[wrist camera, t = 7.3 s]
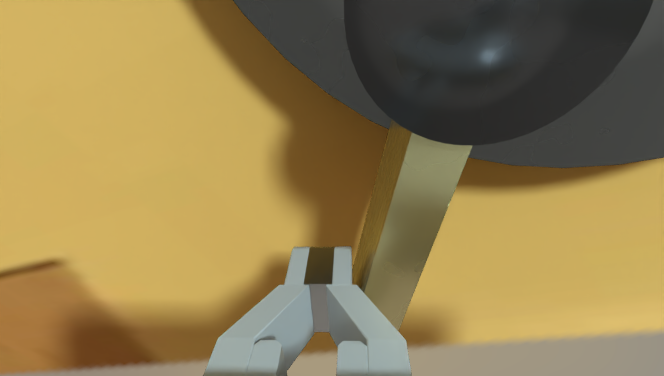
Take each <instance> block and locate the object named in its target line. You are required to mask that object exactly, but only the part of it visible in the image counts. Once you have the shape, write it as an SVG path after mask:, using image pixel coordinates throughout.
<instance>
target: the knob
mask: <svg viewBox="0 0 664 376" xmlns="http://www.w3.org/2000/svg"><path fill="white" fill-rule="evenodd" d="M652 3H653V0H344V25H345V32H346V40H347V45H348V48H349V52H350V56H351V60H352V62H353V65H354V67H355V70H356V72H357V75H358V77H359V79H360V81H361V83H362V84H363V86H364V88H365V90H366V91H367V93H368V94H369V95H370V97H371V98H372V99H373V101H374V102H375V103H376V105H377V106H378V107H379V108H380V109H381V110H382V111H383V112H384V113H385V114H386V115H387V116H388V117H390V118H391V119H392V120H391V123H390V127H389V131H388V135H387V139H386V142H385V146H384V150H383V154H382V158H381V162H380V165H379V169H378V173H377V177H376V181H375V184H374V188H373V192H372V196H371V200H370V204H369V207H368V211H367V215H366V219H365V223H364V226H363V230H362V234H361V238H360V242H359V245H358V249H357V253H356V257H355V261H354V265H353V268H352V283H353V285H357V286H358V287H359V288H360V289H361V290H362V291H363V292H364V293H365V295H366V296H367V297H368V298H369V299H370V300H371V301H372V302H373V304H374V305H375V306H376V307H377V308H378V309H379V310H380V312H381V313H382V314H383V315H384V316H385V317H386V318H387V319H388V321H389V322H390V323H391V324H392V325H393V326H394V327H395V328H396V330H397V331H399V328H400V326H401V323H402V321H403V318H404V316H405V313H406V311H407V308H408V306H409V303H410V301H411V298H412V296H413V293H414V291H415V288H416V286H417V283H418V281H419V278H420V276H421V273H422V271H423V268H424V266H425V263H426V261H427V258H428V256H429V253H430V251H431V248H432V246H433V243H434V241H435V238H436V236H437V233H438V231H439V228H440V226H441V223H442V221H443V218H444V216H445V213H446V211H447V208H448V206H449V203H450V201H451V198H452V196H453V193H454V191H455V188H456V186H457V183H458V181H459V178H460V176H461V173H462V171H463V168H464V166H465V163H466V161H467V158H468V156H469V153H470V151H471V148H472V146H473V145H485V144H494V143H498V142H503V141H507V140H511V139H514V138H517V137H520V136H523V135H526V134H529V133H531V132H533V131H535V130H538V129H540V128H542V127H544V126H546V125H548V124H550V123H551V122H553V121H555V120H556V119H558V118H560V117H561V116H563V115H565V114H566V113H567V112H569V111H570V110H571V109H573V108H574V107H576V106H577V105H578V104H580V103H581V102H582V101H583V100H584V99H585V98H587V97H588V96H589V95H590V94H591V93H592V92H593V91H595V90H596V89H597V88H598V87H599V86H600V84H601V83H602V82H603V81H604V80H605V79H606V78H607V77H608V76H609V75H610V74H611V73H612V71H613V70H614V69H615V68H616V66H617V65H618V64H619V62H620V61H621V60H622V58H623V57H624V56H625V55H626V53H627V51H628V50H629V48H630V47H631V45H632V43H633V42H634V40H635V39H636V37H637V36H638V34H639V32H640V30H641V28H642V26H643V24H644V22H645V20H646V18H647V16H648V14H649V11H650V8H651V6H652Z"/></svg>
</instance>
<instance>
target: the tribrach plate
mask: <svg viewBox="0 0 664 376" xmlns="http://www.w3.org/2000/svg"><path fill="white" fill-rule="evenodd" d="M233 1H234V2H235V4H236V5H237V6H238V8H239V9H240V10H241V12H242V13H243V14H244V15H245V16H246V17H247V18H248V19H249V20H250V21H251V23H252V24H253V25H254V26H255V27H256V28H257V29H258V30H259V31H260V32H261V33H262V34H263V35H264V36H265V37H266V38H267V40H268V41H269V42H270V43H271V44H272V45H273V46H274V47H275V48H276V49H277V50H278V51H279V52H280V53H281V54H282V55H283V56H284V58H286V59H287V60H288V61H289V62H290V63H292V64H293V65H294V66H295V67H296V68H298V69H299V70H300V71H301V72H302V73H304V74H305V75H306V76H307V77H308V78H310V79H311V80H312V81H313V82H314V83H316V84H317V85H318V86H319V87H320V88H322V89H323V90H324V91H325V92H326V93H328V94H329V95H331V96H332V97H334V98H336V99H337V100H339V101H340V102H342V103H343V104H345V105H347V106H348V107H350V108H351V109H353V110H355V111H356V112H358V113H359V114H361V115H362V116H364V117H366V118H367V119H369V120H370V121H372V122H374V123H376V124H379V125H381V126H383V127H385V128H387V129H389V127H390V123H391V120H392V119H391V118H390V117H388V116H387V115H386V114H385V113H384V112H383V111H382V110H381V109H380V108H379V107H378V106H377V105H376V103H375V102H374V101H373V99H372V98H371V97H370V95H369V94H368V93H367V91H366V90H365V88H364V86H363V84H362V83H361V81H360V79H359V77H358V75H357V72H356V70H355V67H354V65H353V62H352V60H351V56H350V52H349V48H348V45H347V40H346V32H345V25H344V0H233ZM468 157H469V158H474V159H480V160H486V161H491V162H497V163H503V164H508V165H519V166H538V167H556V168H570V167H587V166H605V165H619V164H625V163H632V162H638V161H644V160H650V159H657V158H663V157H664V0H653V3H652V6H651V8H650V11H649V14H648V16H647V18H646V20H645V22H644V24H643V26H642V28H641V30H640V32H639V34H638V36H637V37H636V39H635V40H634V42H633V43H632V45H631V47H630V48H629V50H628V51H627V53H626V55H625V56H624V57H623V58H622V60H621V61H620V62H619V64H618V65H617V66H616V68H615V69H614V70H613V71H612V73H611V74H610V75H609V76H608V77H607V78H606V79H605V80H604V81H603V82H602V83H601V84H600V86H599V87H598V88H597V89H596V90H595V91H593V92H592V93H591V94H590V95H589V96H588V97H587V98H585V99H584V100H583V101H582V102H581V103H580V104H578V105H577V106H576V107H574V108H573V109H571V110H570V111H569V112H567V113H566V114H565V115H563V116H561V117H560V118H558V119H556V120H555V121H553V122H551V123H550V124H548V125H546V126H544V127H542V128H540V129H538V130H535V131H533V132H531V133H529V134H526V135H523V136H520V137H517V138H514V139H511V140H507V141H503V142H498V143H494V144H485V145H473V146H472V148H471V151H470V153H469V156H468Z"/></svg>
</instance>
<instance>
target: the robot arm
mask: <svg viewBox="0 0 664 376" xmlns="http://www.w3.org/2000/svg"><path fill="white" fill-rule="evenodd" d="M314 332H330V335H331V337H332V339H333V340H334V342H335V344H336V346H337V347H338V355H337V374H336V376H412V373H411V367H410V362H409V355H408V349H407V343H406V340H405V339H404V337H403V336H402V335H401V334H400V333H399V332H398V331H397V330H396V328H395V327H394V326H393V325H392V324H391V323H390V322H389V321H388V319H387V318H386V317H385V316H384V315H383V314H382V313H381V312H380V310H379V309H378V308H377V307H376V306H375V305H374V304H373V302H372V301H371V300H370V299H369V298H368V297H367V296H366V295H365V293H364V292H363V291H362V290H361V289H360V288H359V287H358V286H357V285H353V283H352V248H351V246H341V247H294V248H293V249H292V252H291V257H290V261H289V265H288V270H287V274H286V278H285V283H284V285H278V286H277V287H276V288H275V289H274V290H273V291H271V292H270V293H269V294H268V295H267V296H266V297H265V298H263V299H262V300H261V301H260V302H259V303H258V304H256V305H255V306H254V307H253V308H252V309H251V310H250V311H248V312H247V313H246V314H245V315H244V316H243V317H242V318H240V319H239V320H238V321H237V322H236V323H235V324H234V325H232V326H231V327H230V328H229V329H228V330H227V331H225V332H224V333H223V334H222V335H221V336H220V337H219V338H218V340H217V342H216V345H215V347H214V350H213V352H212V355H211V357H210V360H209V362H208V365H207V368H206V370H205V373H204V375H203V376H287V370H288V369H289V368H290V366H291V365H292V363H293V362H294V361H295V359H296V358H297V357H298V355H299V354H300V352H301V351H302V350H303V348H304V347H305V346H306V344H307V343H308V342H309V340H310V339H311V337H312V336H313V335H314Z"/></svg>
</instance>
